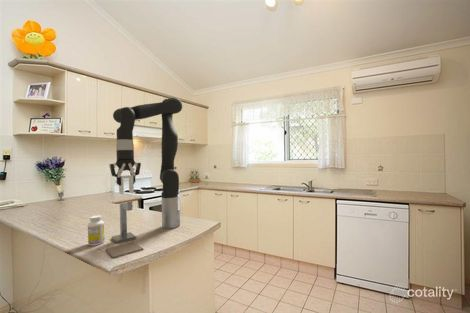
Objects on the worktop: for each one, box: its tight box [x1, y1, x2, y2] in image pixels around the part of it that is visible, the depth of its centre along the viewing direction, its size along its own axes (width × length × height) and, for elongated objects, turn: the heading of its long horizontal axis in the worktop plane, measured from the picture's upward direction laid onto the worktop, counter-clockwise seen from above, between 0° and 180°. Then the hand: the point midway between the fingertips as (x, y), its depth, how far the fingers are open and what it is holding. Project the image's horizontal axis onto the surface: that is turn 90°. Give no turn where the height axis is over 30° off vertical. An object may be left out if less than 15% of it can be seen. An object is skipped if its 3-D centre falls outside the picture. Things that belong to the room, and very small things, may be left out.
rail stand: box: [110, 200, 137, 244], centre depth 111 cm, size 9×16×20 cm, turn 42°
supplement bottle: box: [87, 214, 105, 247], centre depth 108 cm, size 7×7×13 cm
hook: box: [118, 174, 135, 195], centre depth 109 cm, size 5×4×8 cm
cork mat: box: [105, 240, 144, 259], centre depth 99 cm, size 12×12×1 cm
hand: (126, 184), depth 109 cm, fingers closed on hook, 5 cm apart
